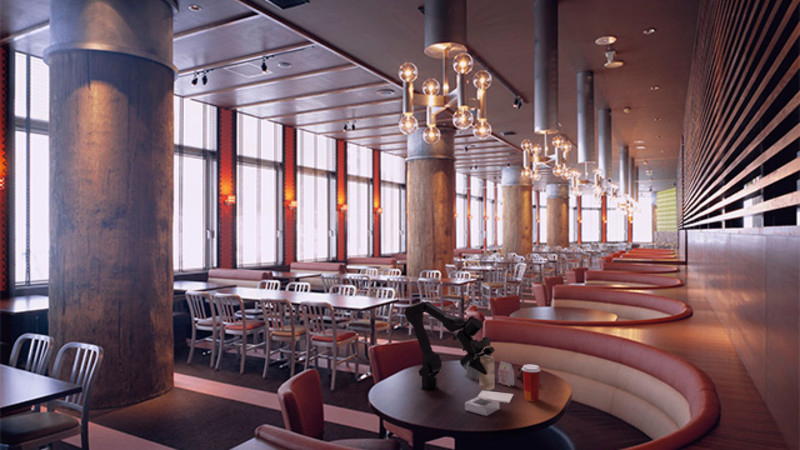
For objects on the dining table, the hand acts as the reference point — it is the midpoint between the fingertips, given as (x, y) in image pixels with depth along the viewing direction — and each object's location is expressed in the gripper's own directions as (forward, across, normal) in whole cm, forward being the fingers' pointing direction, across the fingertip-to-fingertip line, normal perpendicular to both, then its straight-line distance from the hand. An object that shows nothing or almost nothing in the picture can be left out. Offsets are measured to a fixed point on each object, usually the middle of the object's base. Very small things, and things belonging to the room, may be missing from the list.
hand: (489, 373), depth 205 cm
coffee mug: (-10, +29, +30) cm, 43 cm away
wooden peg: (+4, 0, +6) cm, 7 cm away
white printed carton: (+3, +28, +17) cm, 33 cm away
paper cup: (+16, +18, +3) cm, 24 cm away
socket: (+10, -6, +9) cm, 15 cm away
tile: (+7, +9, +12) cm, 17 cm away
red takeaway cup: (+7, +38, +12) cm, 40 cm away
